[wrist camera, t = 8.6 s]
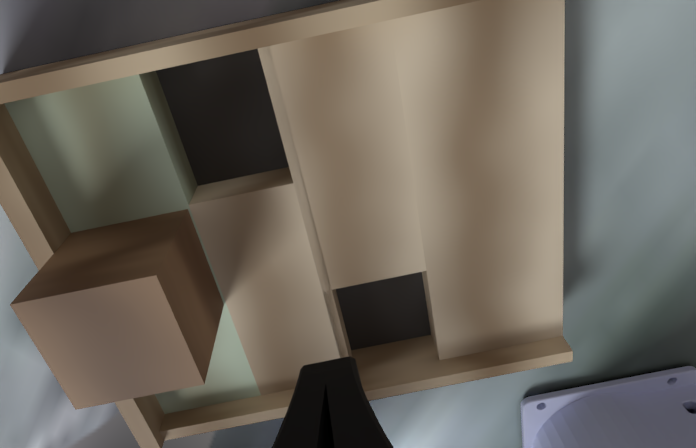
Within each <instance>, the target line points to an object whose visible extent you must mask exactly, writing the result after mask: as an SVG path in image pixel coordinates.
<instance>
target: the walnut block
mask: <svg viewBox="0 0 696 448" xmlns="http://www.w3.org/2000/svg"><path fill="white" fill-rule="evenodd" d="M10 306H11V307H12V309H13V310H14V312H15V314H16V315H17V317H18V318H19V320H20V321H21V323H22V325H23V326H24V328H25V329H26V331H27V333H28V334H29V336H30V337H31V339H32V341H33V342H34V344H35V345H36V347H37V349H38V350H39V352H40V353H41V355H42V357H43V358H44V360H45V361H46V363H47V365H48V366H49V368H50V369H51V371H52V373H53V374H54V376H55V377H56V379H57V381H58V382H59V384H60V385H61V387H62V389H63V390H64V392H65V393H66V395H67V397H68V398H69V400H70V401H71V403H72V405H73V406H74V408H75V409H81V408H86V407H91V406H97V405H102V404H107V403H112V402H117V401H122V400H127V399H133V398H138V397H143V396H148V395H153V394H158V393H163V392H169V391H174V390H179V389H184V388H189V387H194V386H199V385H205V381H206V376H207V372H208V368H209V364H210V360H211V356H212V352H213V348H214V343H215V339H216V335H217V331H218V327H219V323H220V319H221V315H222V310H223V306H224V303H223V300H222V298H221V295H220V292H219V290H218V287H217V285H216V282H215V279H214V277H213V274H212V271H211V269H210V266H209V263H208V261H207V258H206V256H205V253H204V250H203V248H202V245H201V242H200V240H199V237H198V234H197V232H196V229H195V227H194V224H193V221H192V219H191V216H190V213H189V211H188V209H185V210H180V211H176V212H171V213H166V214H161V215H156V216H151V217H146V218H141V219H136V220H132V221H127V222H122V223H117V224H112V225H107V226H102V227H97V228H92V229H87V230H83V231H78V232H73V233H71V234H70V235H69V236H68V238H67V239H66V240H65V241H64V242H63V243H62V245H61V246H60V247H59V248H58V249H57V250H56V252H55V253H54V254H53V255H52V256H51V257H50V259H49V260H48V261H47V262H46V263H45V264H44V266H43V267H42V268H41V269H40V270H39V271H38V273H37V274H36V275H35V276H34V277H33V278H32V280H31V281H30V282H29V283H28V284H27V285H26V287H25V288H24V289H23V290H22V291H21V292H20V294H19V295H18V296H17V297H16V298H15V299H14V301H13V302H12V303H11V304H10Z"/></svg>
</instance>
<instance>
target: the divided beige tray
mask: <svg viewBox="0 0 696 448" xmlns="http://www.w3.org/2000/svg"><path fill="white" fill-rule="evenodd" d="M564 50H565V0H339V1H335V2H330V3H326V4H321V5H316V6H312V7H307V8H303V9H298V10H293V11H289V12H284V13H280V14H275V15H270V16H266V17H261V18H257V19H252V20H248V21H243V22H238V23H234V24H229V25H225V26H220V27H215V28H211V29H206V30H202V31H197V32H192V33H188V34H183V35H179V36H174V37H170V38H165V39H160V40H156V41H151V42H147V43H142V44H137V45H133V46H128V47H124V48H119V49H114V50H110V51H105V52H101V53H96V54H92V55H87V56H82V57H78V58H73V59H69V60H64V61H59V62H55V63H50V64H46V65H41V66H36V67H32V68H27V69H23V70H18V71H14V72H9V73H4V74H1V75H0V204H1V206H2V207H3V209H4V211H5V212H6V214H7V216H8V218H9V219H10V221H11V223H12V225H13V226H14V228H15V230H16V232H17V233H18V235H19V237H20V239H21V240H22V242H23V244H24V246H25V247H26V249H27V251H28V253H29V254H30V256H31V258H32V259H33V261H34V263H35V265H36V266H37V268H38V270H40V269H41V268H42V267H43V266H44V264H45V263H46V262H47V261H48V260H49V259H50V257H51V256H52V255H53V254H54V253H55V252H56V250H57V249H58V248H59V247H60V246H61V245H62V243H63V242H64V241H65V240H66V239H67V238H68V236H69V235H70V234H71V233H73V232H78V231H83V230H87V229H92V228H97V227H102V226H107V225H112V224H117V223H122V222H127V221H132V220H136V219H141V218H146V217H151V216H156V215H161V214H166V213H171V212H176V211H180V210H185V209H188V211H189V213H190V216H191V219H192V221H193V224H194V227H195V229H196V232H197V234H198V237H199V240H200V242H201V245H202V248H203V250H204V253H205V256H206V258H207V261H208V263H209V266H210V269H211V271H212V274H213V277H214V279H215V282H216V285H217V287H218V290H219V292H220V295H221V298H222V300H223V303H224V306H223V310H222V315H221V319H220V323H219V327H218V331H217V335H216V339H215V343H214V348H213V352H212V356H211V360H210V364H209V368H208V372H207V376H206V381H205V385H199V386H194V387H189V388H184V389H179V390H174V391H169V392H163V393H158V394H153V395H148V396H143V397H138V398H133V399H127V400H122V401H117V402H115V404H116V406H117V407H118V409H119V411H120V413H121V414H122V416H123V418H124V420H125V421H126V423H127V425H128V426H129V428H130V430H131V432H132V434H133V435H134V437H135V439H136V440H137V442H138V444H139V445H140V447H141V448H162V446H163V443H164V441H165V440H170V439H175V438H180V437H186V436H190V435H196V434H201V433H206V432H211V431H216V430H222V429H227V428H232V427H237V426H242V425H247V424H252V423H258V422H263V421H268V420H273V419H278V418H283V417H285V415H286V413H287V410H288V407H289V404H290V401H291V399H292V396H293V393H294V390H295V387H296V383H297V380H298V376H299V373H300V369H301V368H302V367H303V365H308V364H313V363H318V362H323V361H328V360H333V359H338V358H344V357H349V356H351V357H353V358H355V360H356V364H357V368H358V372H359V376H360V380H361V384H362V387H363V390H364V392H365V395H366V397H367V399H368V401H371V400H376V399H381V398H386V397H391V396H396V395H402V394H407V393H412V392H417V391H422V390H427V389H432V388H438V387H443V386H448V385H453V384H458V383H463V382H468V381H474V380H479V379H484V378H489V377H494V376H499V375H504V374H510V373H515V372H520V371H525V370H530V369H535V368H541V367H546V366H551V365H556V364H561V363H566V362H571V361H573V351H572V349H571V348H570V346H569V345H568V343H567V342H566V340H565V339H564V337H563V215H564Z"/></svg>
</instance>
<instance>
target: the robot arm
mask: <svg viewBox="0 0 696 448" xmlns="http://www.w3.org/2000/svg"><path fill="white" fill-rule="evenodd" d="M521 424H522V445H523V448H696V368H695V367H693V366H685V367H680V368H674V369H669V370H664V371H659V372H654V373H648V374H643V375H638V376H633V377H628V378H622V379H617V380H612V381H607V382H602V383H597V384H591V385H586V386H581V387H576V388H571V389H565V390H560V391H555V392H550V393H545V394H540V395H534V396H529V397H526V398H525V399H523V400H522V402H521ZM272 448H393V446H392V444H391V443H390V441H389V439H388V438H387V436H386V434H385V433H384V431H383V429H382V427H381V425H380V424H379V422H378V420H377V418H376V416H375V414H374V412H373V410H372V408H371V406H370V404H369V401H368V399H367V397H366V395H365V392H364V390H363V387H362V384H361V380H360V376H359V372H358V368H357V364H356V360H355V358H353V357H351V356H349V357H344V358H338V359H333V360H328V361H323V362H318V363H313V364H308V365H303V367H302V368H301V369H300V373H299V376H298V380H297V383H296V387H295V390H294V393H293V396H292V399H291V401H290V404H289V407H288V410H287V413H286V415H285V418H284V420H283V423H282V425H281V428H280V430H279V433H278V435H277V437H276V440H275V442H274V444H273V446H272Z"/></svg>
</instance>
